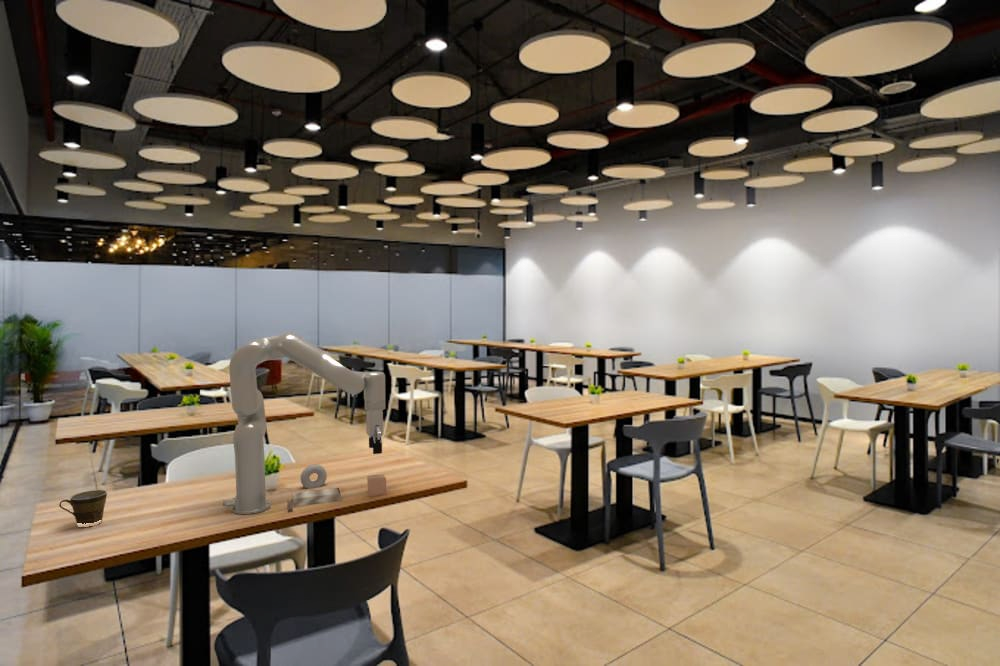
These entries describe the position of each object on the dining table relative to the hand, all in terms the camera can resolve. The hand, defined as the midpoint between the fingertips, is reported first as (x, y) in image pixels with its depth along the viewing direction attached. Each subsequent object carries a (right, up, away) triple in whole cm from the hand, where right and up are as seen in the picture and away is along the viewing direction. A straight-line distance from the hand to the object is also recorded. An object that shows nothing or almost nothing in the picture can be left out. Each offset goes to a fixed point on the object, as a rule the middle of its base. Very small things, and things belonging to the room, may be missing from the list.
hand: (375, 450), depth 217 cm
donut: (-26, -18, +10) cm, 33 cm away
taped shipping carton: (0, -16, +1) cm, 16 cm away
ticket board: (-12, -18, -4) cm, 22 cm away
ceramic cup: (-91, -20, -25) cm, 96 cm away
